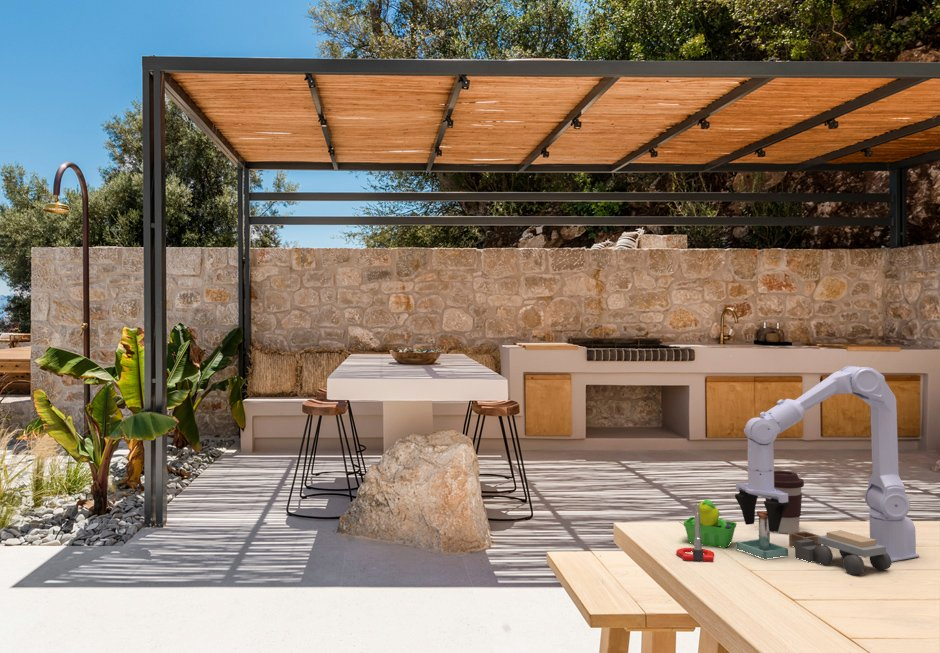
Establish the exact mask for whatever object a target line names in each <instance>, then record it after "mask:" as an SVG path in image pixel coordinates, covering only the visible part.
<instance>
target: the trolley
mask: <svg viewBox="0 0 940 653" xmlns="http://www.w3.org/2000/svg"><path fill="white" fill-rule="evenodd" d="M818 543H819V544H821V546H816V547H815V548H814V549H813V557H814V559H815V561H816V563H817V564H818V563H821V564H823V565H822V566H824V565H829V564H831V563H832V562H833V560H834V554H833V551H832V549H835V550H838V551H839V552H838V553H839V554H840V556H841V557H842V559H843V561H842V565H843V568H844V571H846V573H848V574H849V573H850V574H849V575H851V574H853V575H852V576H855V575H857V576H858V575H861V574H863V573H864V571H865V562H864V559H862V558H869V562H870V564H871V566H872V568H874V569H875V570H877V571H885V570H888V569H890V567H891V565H892V561H891V558H890V556H889V555H888V553H886V547H885V546H881V545H878V544H876V540H875V539H871V538H870V537H868V536H863V535H860V534H856V533H852V532H849V531H845V530H842V529H840V530H835V531H834V530H833V531H826V535H819V536H818ZM831 548H832V549H831ZM821 564H820V565H821Z"/></svg>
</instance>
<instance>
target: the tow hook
mask: <svg viewBox="0 0 940 653" xmlns="http://www.w3.org/2000/svg"><path fill="white" fill-rule="evenodd" d="M699 504H700V503H695V512H694V517H695V538H694V543H693V547H681V548H677V550H675V552H676V555H677V556H678V557H681V558H682V561H686V560H689V562H700V561H703V562H709V561H713V562H714V558H715V552H714V551H712V550H710V549H706V548H703V545H702V539H701V538H700V513H699ZM691 551H692V552H691ZM685 552H687V553H685ZM703 553H704V554H703Z"/></svg>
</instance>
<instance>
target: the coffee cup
mask: <svg viewBox="0 0 940 653" xmlns="http://www.w3.org/2000/svg"><path fill="white" fill-rule="evenodd" d="M803 487H805V480H804V479H803V478H801V477H799V476H798V474H797V472H795V471H788V470H787V471H786V470H774V488H775V489H777V490H779V491H781V492H784V493H787V494H788V502H789V506H788V507H787V508H786V510H785V512H784V514H783V516H782V519H781V522H780V526H779V530H778V532H779V533H778V532H777V533H778V534H780V533H781V534H789V533H795V532H800V518H801V514H802V500H803V498H802V497H803V493H802V488H803ZM764 499H765V501H771V499H768V498H764Z"/></svg>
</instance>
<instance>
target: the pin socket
mask: <svg viewBox="0 0 940 653" xmlns="http://www.w3.org/2000/svg"><path fill="white" fill-rule="evenodd" d="M818 536H820V535H819V534H815V533H811V532H809V531H806V530H804V531H798V532H795V533H788V546H789V545H790V546H789V547H791V546H794V547H795V541H798V540H805V539H810V540H813V541H814V545H815V546H821V545H822V544H819V543H818ZM794 547H793V548H794Z"/></svg>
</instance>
